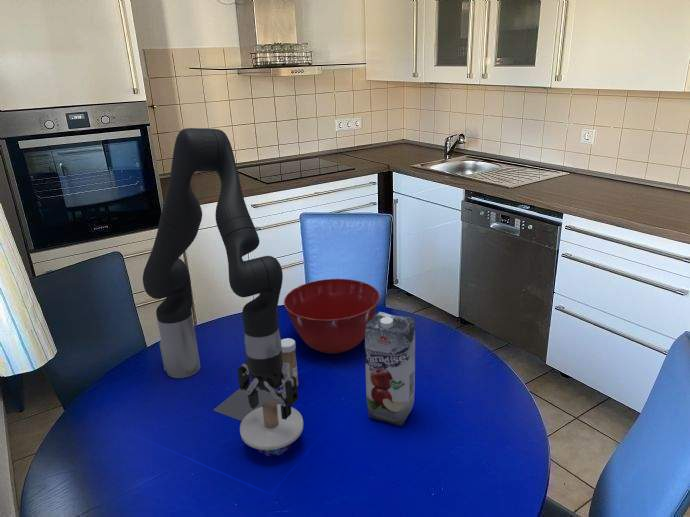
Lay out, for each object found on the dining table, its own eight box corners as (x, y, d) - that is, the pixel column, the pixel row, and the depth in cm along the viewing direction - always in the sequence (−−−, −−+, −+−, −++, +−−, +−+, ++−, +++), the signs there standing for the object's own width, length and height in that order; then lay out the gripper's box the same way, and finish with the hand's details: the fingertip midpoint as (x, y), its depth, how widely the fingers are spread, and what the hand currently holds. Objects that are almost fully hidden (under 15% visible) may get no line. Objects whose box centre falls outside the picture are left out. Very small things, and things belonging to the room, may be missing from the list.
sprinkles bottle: (301, 386, 142) (298, 342, 137) (286, 392, 140) (282, 348, 135) (293, 378, 146) (290, 335, 141) (278, 384, 144) (274, 341, 139)
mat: (213, 412, 133) (212, 410, 133) (248, 383, 145) (248, 381, 145) (257, 428, 127) (257, 426, 127) (291, 396, 138) (290, 394, 138)
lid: (227, 437, 117) (224, 414, 115) (265, 402, 128) (263, 380, 126) (279, 458, 111) (276, 434, 108) (315, 419, 122) (313, 396, 120)
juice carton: (377, 398, 136) (376, 303, 126) (417, 409, 132) (418, 311, 122) (363, 419, 129) (360, 320, 119) (404, 431, 124) (405, 328, 114)
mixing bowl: (268, 350, 160) (263, 304, 155) (325, 313, 182) (322, 271, 176) (345, 378, 145) (343, 328, 139) (397, 334, 167) (397, 289, 161)
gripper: (225, 348, 112) (234, 412, 118) (280, 365, 106) (287, 431, 112) (248, 333, 118) (255, 394, 124) (301, 347, 112) (306, 411, 118)
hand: (270, 411), depth 118 cm, fingers open, 8 cm apart
